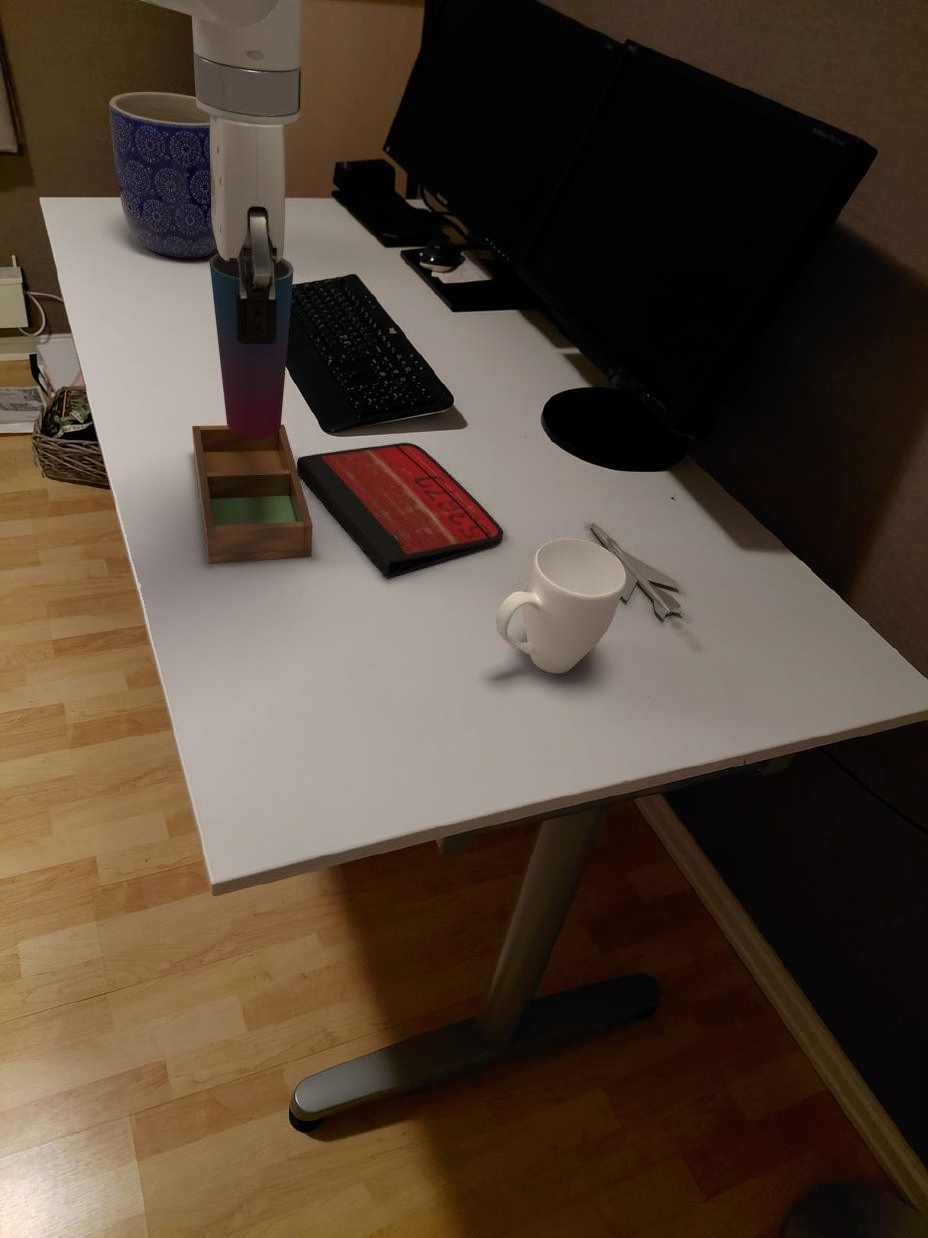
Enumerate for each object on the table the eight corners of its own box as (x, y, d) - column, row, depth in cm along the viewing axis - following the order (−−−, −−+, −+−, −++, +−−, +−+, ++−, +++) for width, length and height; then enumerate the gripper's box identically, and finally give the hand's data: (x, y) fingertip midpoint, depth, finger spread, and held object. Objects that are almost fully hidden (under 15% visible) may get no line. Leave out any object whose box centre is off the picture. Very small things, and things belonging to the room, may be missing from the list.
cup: (298, 413, 83) (302, 258, 73) (280, 448, 78) (281, 287, 68) (229, 400, 83) (224, 243, 73) (207, 434, 78) (198, 270, 68)
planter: (158, 273, 132) (145, 126, 119) (103, 232, 141) (85, 91, 128) (259, 259, 143) (258, 122, 129) (203, 221, 152) (196, 90, 138)
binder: (388, 561, 84) (295, 455, 96) (385, 579, 86) (294, 472, 98) (513, 531, 93) (414, 436, 105) (508, 547, 94) (411, 452, 106)
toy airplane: (616, 522, 100) (622, 506, 99) (725, 640, 87) (733, 624, 86) (562, 531, 97) (566, 514, 96) (665, 655, 84) (673, 638, 82)
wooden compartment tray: (208, 563, 84) (206, 531, 81) (194, 456, 97) (192, 425, 94) (311, 556, 87) (312, 525, 84) (283, 453, 100) (284, 424, 98)
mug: (560, 619, 86) (588, 528, 78) (611, 674, 81) (646, 583, 73) (461, 652, 80) (481, 558, 72) (509, 713, 75) (536, 618, 67)
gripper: (187, 56, 67) (199, 283, 79) (204, 114, 55) (216, 371, 67) (283, 67, 69) (281, 286, 81) (319, 125, 57) (311, 371, 69)
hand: (251, 322), depth 74 cm, fingers closed on cup, 6 cm apart
